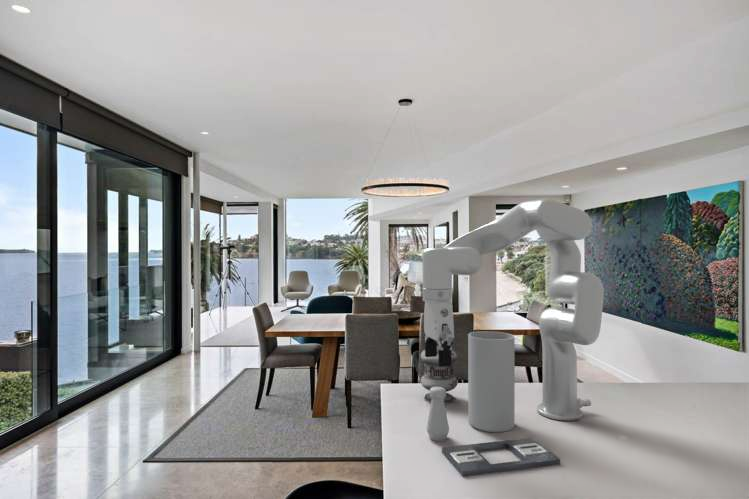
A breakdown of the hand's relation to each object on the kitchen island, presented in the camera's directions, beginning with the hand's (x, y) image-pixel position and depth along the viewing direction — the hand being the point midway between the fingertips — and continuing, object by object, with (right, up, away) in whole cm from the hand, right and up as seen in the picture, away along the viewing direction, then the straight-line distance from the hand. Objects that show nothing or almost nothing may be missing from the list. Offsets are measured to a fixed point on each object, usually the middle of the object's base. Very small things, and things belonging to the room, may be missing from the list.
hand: (437, 361), depth 117 cm
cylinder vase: (+16, -20, +9) cm, 28 cm away
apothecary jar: (+5, -20, +31) cm, 37 cm away
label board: (+13, -20, -11) cm, 26 cm away
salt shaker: (0, -20, 0) cm, 20 cm away
